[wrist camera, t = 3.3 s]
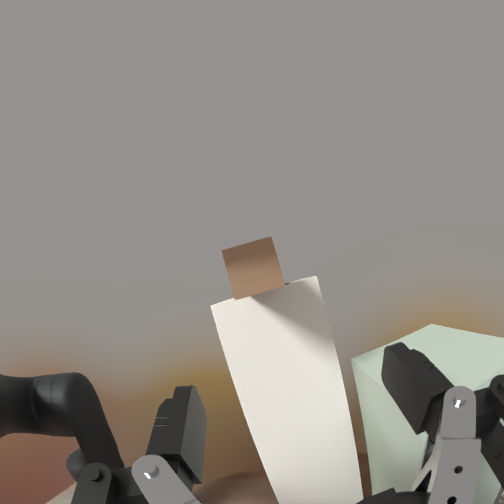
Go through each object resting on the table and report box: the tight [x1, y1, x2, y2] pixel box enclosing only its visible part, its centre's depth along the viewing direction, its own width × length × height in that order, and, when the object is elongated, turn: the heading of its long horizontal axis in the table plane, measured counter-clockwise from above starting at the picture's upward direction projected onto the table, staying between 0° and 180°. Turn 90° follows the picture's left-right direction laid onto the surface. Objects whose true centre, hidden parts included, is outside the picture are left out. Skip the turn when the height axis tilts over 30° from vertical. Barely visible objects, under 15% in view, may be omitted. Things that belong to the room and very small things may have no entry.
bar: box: [222, 237, 285, 300], centre depth 28 cm, size 24×3×3 cm, turn 177°
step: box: [351, 324, 504, 504], centre depth 15 cm, size 14×10×29 cm
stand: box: [211, 276, 363, 504], centre depth 28 cm, size 12×10×38 cm
